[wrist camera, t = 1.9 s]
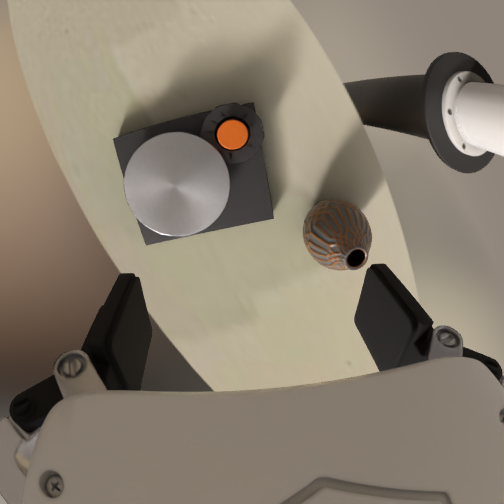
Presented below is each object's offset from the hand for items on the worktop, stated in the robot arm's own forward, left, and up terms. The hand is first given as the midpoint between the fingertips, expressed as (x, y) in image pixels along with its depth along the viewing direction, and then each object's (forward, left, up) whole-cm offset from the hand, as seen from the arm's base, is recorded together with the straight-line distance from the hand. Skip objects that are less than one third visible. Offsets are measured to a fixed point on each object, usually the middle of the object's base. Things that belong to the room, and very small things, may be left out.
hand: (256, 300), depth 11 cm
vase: (-9, +6, -20) cm, 23 cm away
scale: (+4, -2, -20) cm, 20 cm away
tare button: (0, -5, -17) cm, 18 cm away
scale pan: (+6, -1, -17) cm, 18 cm away
